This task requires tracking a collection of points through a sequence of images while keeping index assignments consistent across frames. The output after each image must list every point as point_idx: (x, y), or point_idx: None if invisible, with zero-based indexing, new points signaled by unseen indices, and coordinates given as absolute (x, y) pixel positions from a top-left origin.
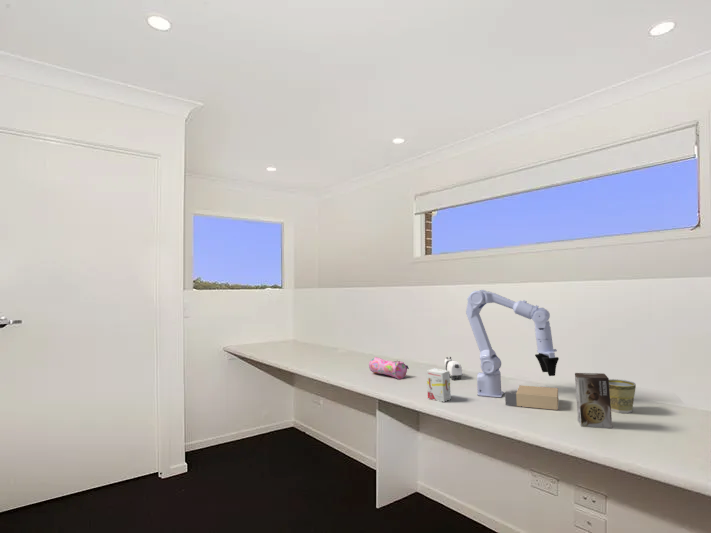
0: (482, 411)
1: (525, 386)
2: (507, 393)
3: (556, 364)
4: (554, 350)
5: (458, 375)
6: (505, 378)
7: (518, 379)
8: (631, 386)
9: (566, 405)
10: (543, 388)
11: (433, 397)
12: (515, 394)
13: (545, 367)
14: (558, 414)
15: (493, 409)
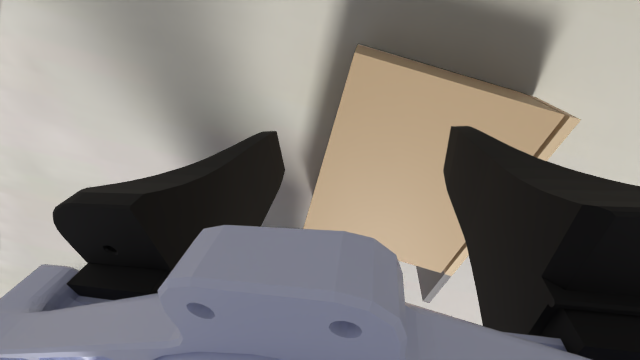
0: (474, 320)
1: (323, 215)
2: (433, 294)
3: (573, 171)
4: (412, 348)
5: None
6: (35, 183)
7: (18, 139)
8: None
9: (444, 18)
10: (363, 144)
11: None
12: (449, 274)
13: (266, 170)
14: (594, 109)
15: (458, 295)
